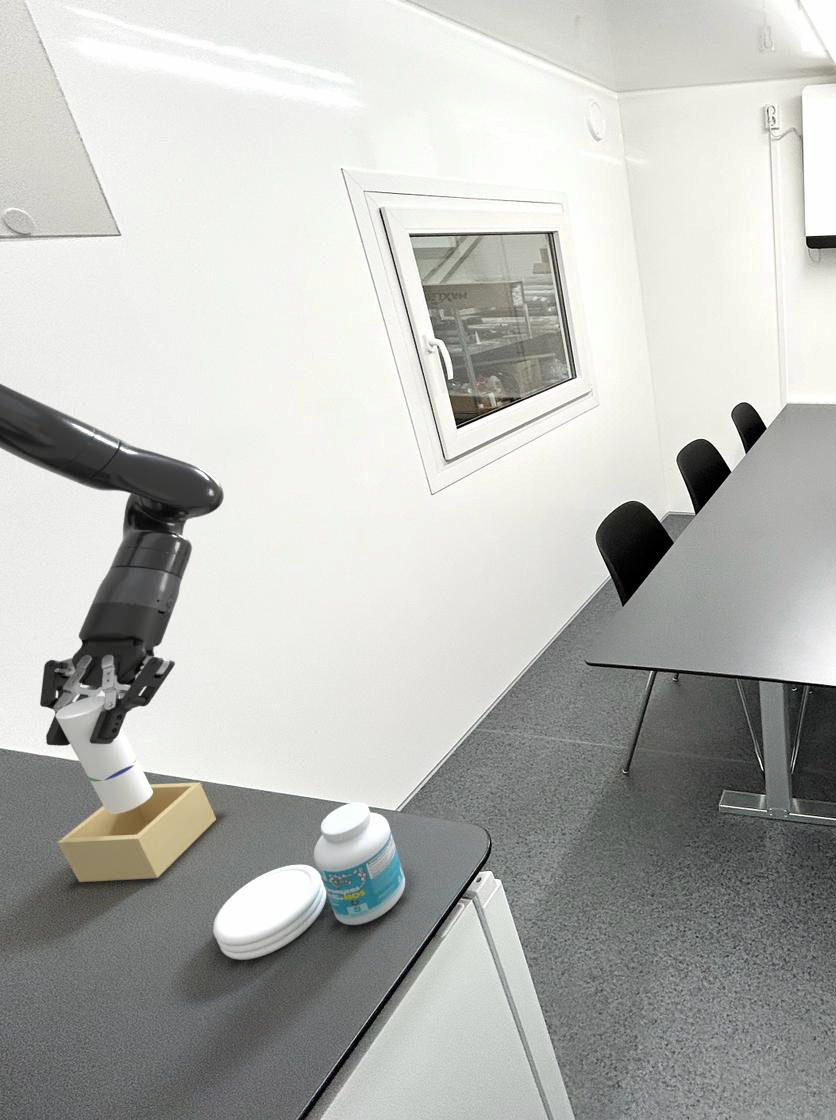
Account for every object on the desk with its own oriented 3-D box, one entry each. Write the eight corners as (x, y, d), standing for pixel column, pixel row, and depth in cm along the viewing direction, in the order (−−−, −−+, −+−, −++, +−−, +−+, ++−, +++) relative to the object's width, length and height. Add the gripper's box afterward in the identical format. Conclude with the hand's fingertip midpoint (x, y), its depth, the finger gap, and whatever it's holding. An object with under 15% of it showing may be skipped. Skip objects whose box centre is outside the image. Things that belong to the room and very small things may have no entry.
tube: (118, 793, 82) (70, 700, 77) (159, 784, 84) (115, 692, 78) (98, 817, 79) (45, 722, 73) (141, 808, 80) (93, 713, 74)
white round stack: (251, 977, 69) (241, 956, 67) (203, 939, 72) (193, 918, 71) (345, 901, 77) (338, 880, 76) (298, 871, 81) (290, 851, 80)
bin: (79, 882, 79) (56, 842, 77) (146, 822, 88) (128, 785, 86) (157, 878, 80) (137, 838, 77) (216, 819, 89) (200, 782, 86)
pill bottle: (320, 920, 75) (287, 836, 70) (373, 868, 81) (347, 788, 77) (371, 935, 73) (341, 850, 68) (421, 880, 80) (397, 799, 75)
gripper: (45, 601, 78) (-21, 744, 71) (165, 598, 79) (111, 739, 72) (103, 616, 85) (49, 749, 78) (213, 613, 86) (168, 744, 79)
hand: (79, 743), depth 75 cm, fingers closed on tube, 4 cm apart
